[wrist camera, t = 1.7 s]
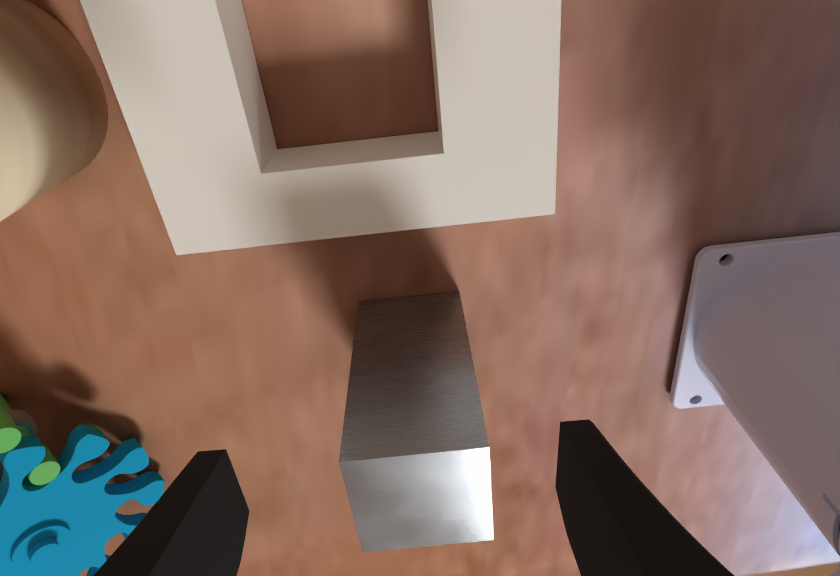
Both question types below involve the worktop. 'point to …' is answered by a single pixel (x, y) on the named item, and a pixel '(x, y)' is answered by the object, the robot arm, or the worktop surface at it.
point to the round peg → (44, 105)
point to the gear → (64, 498)
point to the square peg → (415, 427)
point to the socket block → (335, 162)
